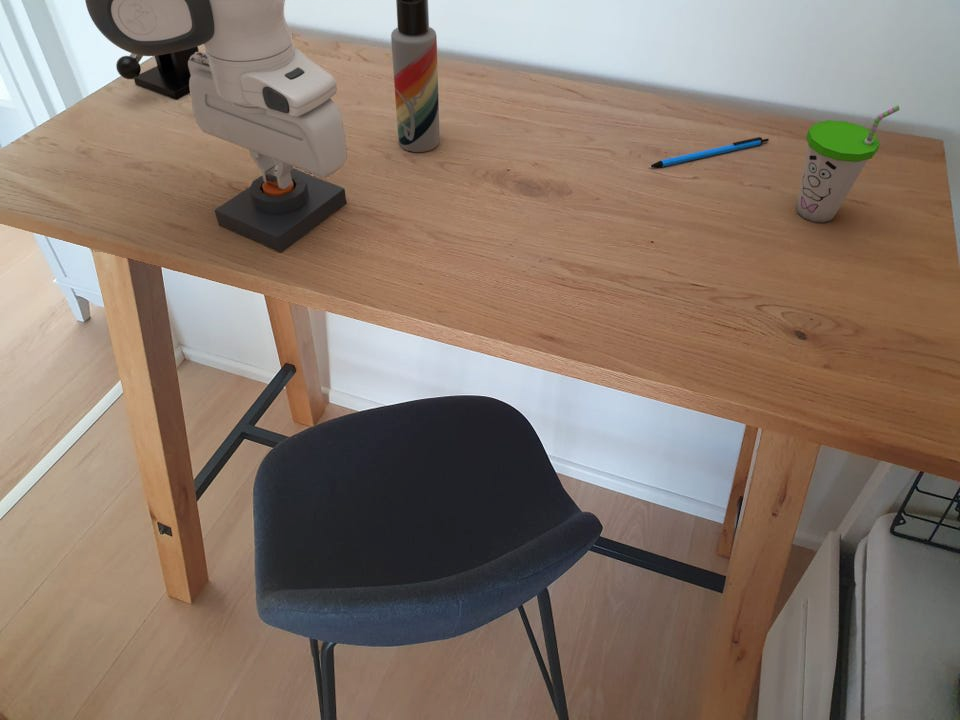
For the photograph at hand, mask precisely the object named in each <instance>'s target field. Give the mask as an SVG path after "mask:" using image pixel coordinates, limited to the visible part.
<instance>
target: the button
mask: <svg viewBox="0 0 960 720" xmlns="http://www.w3.org/2000/svg"><path fill="white" fill-rule="evenodd" d="M262 187H263V192H264V193H265V194H267V195H269V196H280V195H284V194H288V193H290V192H291V191H293V190H294V184H293V181H292V184H291V185H290V186H289V187H287V188H286V189H281V188H278V187H276V186H273V185H271V184H268V183H265V182H264V183H263V185H262Z"/></svg>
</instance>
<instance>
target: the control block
mask: <svg viewBox="0 0 960 720" xmlns="http://www.w3.org/2000/svg"><path fill="white" fill-rule="evenodd" d="M290 173H291V179H292V181H293V184H294V190H293V191H291V192H290V193H288V194H284V195H280V196H269V195H267V194H265V193H264V192H263V187H262V185H263V183H264V181H263V176H262V175H260V176H258V177H257V178H255V179H254V180H253V181H252V182H251V184H250V186H249V187H247V188H245V189H244V190H243V191H241V192H240V193H238V194H237V195H235V196H234V197H232V198H230V199H229V200H228V201H225V202H224V203H223V204H221V205H220V206H218V207H217V208H215V209H214V213H215V217H216V221H217V223H218V226H220V227H222V228H225V229H227V230H229V231H231V232H233V233H235V234H238V235H240V236H242V237H245V238H247V239H249V240H252V241H254V242H256V243H258V244H261V245H263V246H265V247H267V248H270V249H272V250H275V251H276V252H279V253H282V252H284V251H285V250H286V249H287V248H289V247H291V245H293V244H295V243H296V242H297V241H298V240H300V239H301V238H302V237H303V236H305V235H306V234H307V233H309V232H310V231H312V230H313V229H314V228H316V227H317V226H319V225H320V224H321V223H322V222H324V221H326V219H328V218H330V217H331V216H332V215H333V214H334V213H335V212H337V211H338V210H340V209H341V208H343V207H344V206H345V205H346V204H347V203H348V202H347V194H346V189H345V187H342V186H339V185H337V184H334V183H332V182H330V181H327V180H324V179H322V178H320V177H317V176H313V175H311V174H310V173H306V172H303V171H300V170H298V169H295V168H294V167H292V170H291V171H290Z"/></svg>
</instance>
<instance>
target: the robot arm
mask: <svg viewBox="0 0 960 720" xmlns="http://www.w3.org/2000/svg"><path fill="white" fill-rule="evenodd" d="M285 4H286V0H85V5H86V9H87V12H88V14H89V17H90V19H91V21H92V23H93V24H94V25H95V27H96V28H97V29H98V31H99V32H100V33H101V34H102V35H103V36H104V37H105V39H107V40H108V41H109V42H111V43H112V44H113V45H115V46H116V47H118V48H119V49H121V50H123V51H125V52H128V53H130V54H131V53H133V54H136V55H141V56H143V57H155V56H158V55H164V54H169V53H174V52H178V51H183V50H187V49H190V48H194V47H197V46H198V47H200V46H203V45H204V49H205V52H202V51H199V52H195V53H194V54H193V55H192V56H191V57H190V59H189V61H188V67H189V71H190V74H191V77H190V80H189V88H190V93H189V94H190V95H189V96H190V101H191V107H192V113H193V116H194V119H195V123H196V125H197V126H198V127H199V128H200V130H201V131H202V132H203V133H205V134H207V135H210V136H213V137H215V138H218V139H221V140H223V141H226V142H228V143H230V144H233V145H236V146H239V147H241V148H244V149H247V150H248V151H249V155H250V157H251V159H252V160H253V161H254V163H255V165H256V166H257V167H258V169H259V170H260V172H261V176H263V181H264V182H265V183H268V184H271V185H273V186H276V187H278V188H281V189H286V188H287V187H289V186H290V185H291V184H292V179H291V173H290V171H291V170H292V168H297V169H299V170H302V171H305V172H307V173H308V174H312V175H315V176H316V177H317V176H318V177H319V178H323V179H326V178H328V177H330V176H332V175H333V174H335V173H336V172H338V171H339V170H340V169H341V168H343V166H344V165H345V164H346V163H347V160H348V145H347V139H346V132H345V127H344V121H343V117H342V114H341V111H340V109H339V107H338V105H337V104H336V102H335V101H334V100H333V99H332V98H333V97H334V96H335V95H336V94H337V91H338V86H337V81H336V79H335V77H334V76H333V75H332V74H331V73H329V72H328V71H326V70H325V69H324V68H322V67H321V66H319V65H318V64H316V63H315V62H314V61H312V60H311V59H310V58H309V57H308V56H306V55H305V54H304V53H303V52H302V51H301V50H300V49H298V48H297V47H295V45H294V40H293V35H292V32H291V30H290V28H289V25H288V24H287V20H286V16H285Z"/></svg>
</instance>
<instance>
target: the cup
mask: <svg viewBox="0 0 960 720" xmlns="http://www.w3.org/2000/svg"><path fill="white" fill-rule="evenodd" d="M898 111H900V107H899V105H896V106H893V107H892V108H890V109H888V110H886V111H884V112H882V113H880V114H878V115H877V116H876V117H875V119H874V120H873V123H872V125H871V127H870V129H867V128H866V127H864V126H862V125H859V124H855V123H853V122H849V121H843V120H829V119H828V120H824V121H819V122H815V123H813V125H812V126H810V128H809V129H808V131H807V133H806V136H805V138H806V141H807V149H806V155H805V159H804V164H803V170H802V176H801V181H800V187H799V191H798V197H797V202H796V208H795V209H796V213H797V215H799V216H800V217H801V218H803V219H804V220H807V221H809V222H812V223H820V224H825V223H828V222H832V220H833V219H834V218H835V216H836V215H837V213H838V211H839V210H840V208H841V206H842V204H843V203H844V202H845V200H846V198H847V196H848V195H849V193H850V191H851V190H852V188H853V187H854V184H855V183H856V181H857V180H858V178H859V175H860V174H861V173H862V171H863V170H864V168H865V166H866V164H867V162H868V161H869V160H871V159H873V157H874V156H875V155H876V154H877V152H878V150H879V148H880V146H881V142H880V140H879V138H878V136H877V135H876V131H877V130H878V126H879V125H880V122H881V121H882V120H883V119H884V118H886V117H889V116H890V115H893V114H895V113H897V112H898Z"/></svg>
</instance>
